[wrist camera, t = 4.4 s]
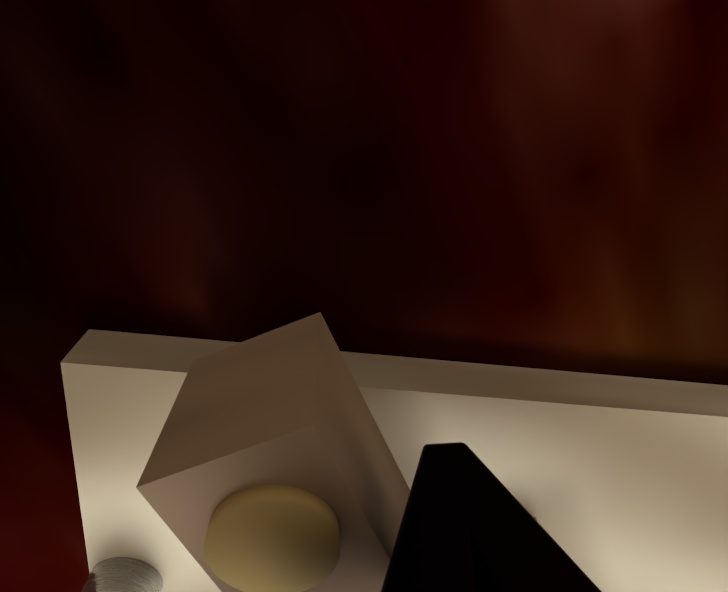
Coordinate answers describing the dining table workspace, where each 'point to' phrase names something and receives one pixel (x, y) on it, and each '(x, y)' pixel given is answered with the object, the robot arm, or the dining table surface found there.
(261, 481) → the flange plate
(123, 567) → the dowel pin
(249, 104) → the dining table surface
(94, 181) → the dining table surface
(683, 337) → the dining table surface
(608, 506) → the birch board
